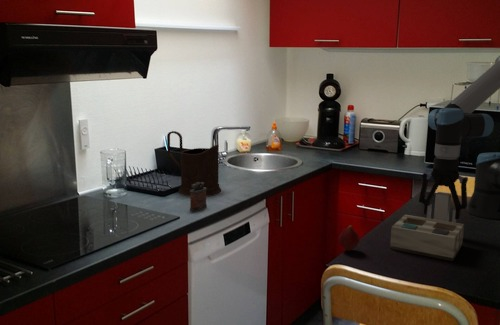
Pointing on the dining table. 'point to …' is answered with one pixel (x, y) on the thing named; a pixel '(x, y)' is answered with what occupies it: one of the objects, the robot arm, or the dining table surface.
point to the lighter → (198, 197)
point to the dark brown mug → (197, 168)
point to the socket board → (427, 237)
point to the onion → (349, 238)
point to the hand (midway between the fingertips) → (440, 226)
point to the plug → (442, 206)
